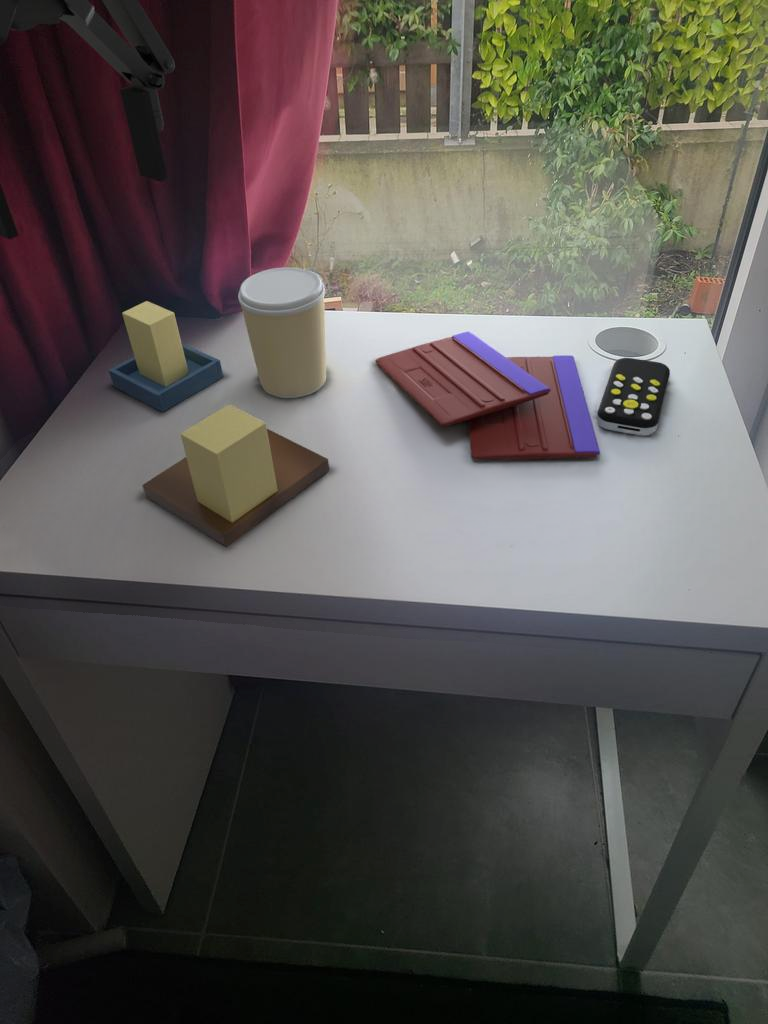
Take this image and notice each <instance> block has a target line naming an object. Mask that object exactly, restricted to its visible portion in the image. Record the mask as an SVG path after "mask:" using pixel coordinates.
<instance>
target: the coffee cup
mask: <svg viewBox="0 0 768 1024" xmlns="http://www.w3.org/2000/svg"><path fill="white" fill-rule="evenodd" d="M325 293H326V287H325V285H324V283H323V281H322V280H321V277H320V276H319V275H318V274H317V273H315V272H313V271H311V270H308V269H305V268H301V267H290V266H289V267H288V266H287V267H274V268H268V269H266V270H262V271H259V272H256V273H254V274H252V275H250V276H248V277H247V278H246V279H245V280H243V282H242V283H241V285H240V286H239V291H238V293H237V294H238V295H237V297H238V302H239V304H240V306H241V310H242V314H243V318H244V323H245V327H246V331H247V334H248V340H249V343H250V347H251V352H252V355H253V360H254V364H255V367H256V370H257V371H256V372H257V374H258V378H259V382H260V385H261V387H262V389H263V391H265V393H267V394H268V395H271V396H273V397H276V398H282V399H297V398H302V397H306V396H309V395H312V394H314V393H316V392H317V391H319V390H320V389H321V388H322V387H323V386H324V385H325V384H326V381H327V343H326V313H325Z"/></svg>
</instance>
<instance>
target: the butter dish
mask: <svg viewBox="0 0 768 1024" xmlns="http://www.w3.org/2000/svg"><path fill="white" fill-rule="evenodd" d="M181 343H182V348H183V352H184V356H185V360H186V364H187V369H188V373H189V374H188V375H186V376H185V377H183V378H181V379H179V380H177V381H176V382H174V383H172V384H170V385H169V386H167V387H165V386H163V385H161V384H159V383H157V382H155V381H153V380H151V379H149V378H147V377H145V376H143V375H141V374H139V370H138V367H137V363H136V360H135V356H134V355H133V356H132V357H131V358H129V359H126V360H124V361H122V362H121V363H119V364H117V365H115V366H114V367H112V368H109V369H108V373H109V375H110V379H111V381H112V385H113V387H114V388H116V389H118V390H119V391H121V392H123V393H124V394H125V393H126V394H127V395H129V396H131V397H133V398H135V399H137V400H138V401H140V402H142V403H144V404H146V405H148V406H150V407H151V408H153V409H156V410H157V411H159V412H161V413H164V412H166V411H168V410H169V409H171V408H173V407H174V406H176V405H177V404H179V403H181V402H183V401H184V400H186V399H187V398H188V399H189V398H190V397H192V396H193V395H194V394H197V393H198V392H200V391H202V390H203V389H205V388H206V387H208V386H210V385H212V384H213V383H215V382H218V381H219V380H221V379H222V378H223V377H224V373H223V368H222V363H221V360H220V359H217V358H216V357H214V356H211V355H210V354H208V353H205V352H203V351H201V350H198V349H196V348H195V347H192V346H189V345H187V344H185V343H183V342H181Z"/></svg>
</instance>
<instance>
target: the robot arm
mask: <svg viewBox="0 0 768 1024" xmlns="http://www.w3.org/2000/svg"><path fill="white" fill-rule="evenodd" d="M101 2H102V3H103V5H104V6H105V8H106V9H107V11H108V12H109V14H110V15H111V17H112V18H113V20H114V21H115V23H116V25H117V26H118V28H119V30H120V31H121V33H122V35H123V36H124V37H125V39H126V40H127V42H128V43H127V42H126V41H125V40H124V39H123V38H122V37H121V36H120V35H119V34H118V32H116V31H115V30H114V29H113V28H112V26H110V25H109V24H108V23H107V21H105V19H104V18H102V17H101V15H99V13H98V12H97V11H96V10H95V6H94V4H92V3H91V2H90V0H0V47H1V46H2V45H3V44H4V43H5V42H6V41H7V38H8V36H9V34H10V33H9V32H10V31H15V32H19V33H20V32H24V31H29V30H32V29H33V28H35V27H36V26H38V25H39V24H41V25H50V26H51V25H57V24H60V23H62V22H61V21H63V22H64V23H66V24H67V25H68V26H69V27H70V28H71V29H72V30H73V31H74V32H75V33H77V34H78V36H80V37H81V39H83V40H84V41H85V42H86V43H87V44H88V45H89V46H90V47H91V48H92V49H93V50H94V51H95V52H96V53H98V55H99V56H101V57H102V59H104V60H105V61H106V62H107V64H109V65H110V66H111V67H112V68H113V69H114V70H115V71H116V72H117V73H118V74H119V75H120V76H121V77H123V79H124V80H125V81H127V82H128V83H129V84H130V85H131V86H125V87H121V88H119V92H120V97H121V101H122V105H123V110H124V114H125V119H126V123H127V126H128V131H129V135H130V140H131V144H132V147H133V148H132V149H133V151H134V156H135V160H136V165H137V168H138V169H137V170H138V173H139V176H140V177H142V178H143V177H144V178H147V179H150V180H153V181H157V182H161V183H162V182H164V181H167V180H169V175H168V171H167V167H166V163H165V158H164V153H163V149H162V144H161V140H160V139H161V138H160V132H163V131H164V119H163V114H162V110H161V104H160V100H159V95H158V91H160V90H162V89H163V88H164V86H165V77H164V76H165V75H166V74H172V73H173V72H174V70H175V68H176V65H175V60H174V58H173V57H172V55H171V53H170V51H169V50H168V48H167V47H166V45H165V43H164V41H163V40H162V38H161V36H160V35H159V33H158V31H157V30H156V28H155V26H154V25H153V23H152V21H151V20H150V18H149V16H148V14H147V13H146V11H145V10H144V8H143V7H142V5H141V3H140V1H139V0H101ZM19 236H20V235H19V232H18V230H17V227H16V224H15V221H14V219H13V216H12V212H11V209H10V206H9V204H8V201H7V198H6V195H5V192H4V190H3V187H2V184H1V183H0V237H3V238H5V239H7V240H12V239H14V238H17V237H19Z"/></svg>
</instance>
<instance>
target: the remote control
mask: <svg viewBox="0 0 768 1024" xmlns="http://www.w3.org/2000/svg"><path fill="white" fill-rule="evenodd" d="M670 375H671V370H670V368H669V366H668V365H666V364H665V363H662V362H659V361H652V360H646V359H640V358H632V357H621V358H618V359H617V360H615V362H613V365H612V369H611V371H610V374H609V377H608V380H607V384H606V385H605V389H604V391H603V395H602V397H601V401H600V403H599V407H598V409H597V414H596V422H597V424H598V425H599V427H601V428H602V429H605V430H608V431H613V432H618V433H619V432H620V433H624V434H630V435H637V436H649V435H651V434H653V433H655V431H657V429H658V426H659V421H660V417H661V414H662V408H663V405H664V401H665V396H666V393H667V388H668V383H669V380H670V377H671V376H670Z"/></svg>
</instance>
